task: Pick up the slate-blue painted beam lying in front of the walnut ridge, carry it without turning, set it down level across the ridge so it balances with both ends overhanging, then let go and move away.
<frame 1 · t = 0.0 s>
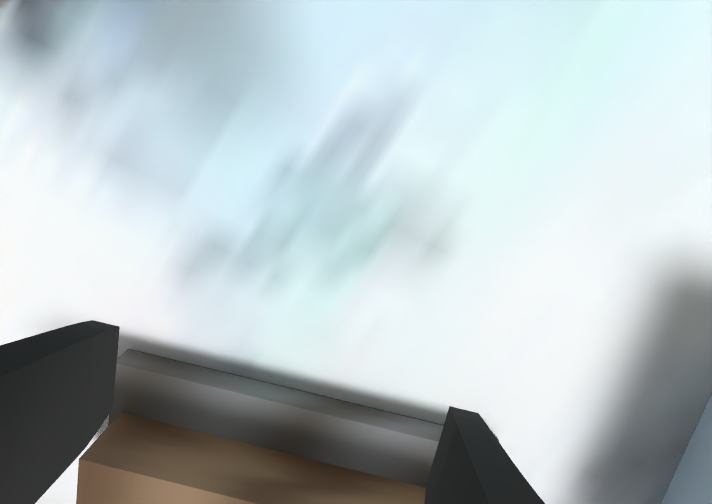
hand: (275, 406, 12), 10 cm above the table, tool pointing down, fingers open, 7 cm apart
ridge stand: (294, 470, 24), on the table
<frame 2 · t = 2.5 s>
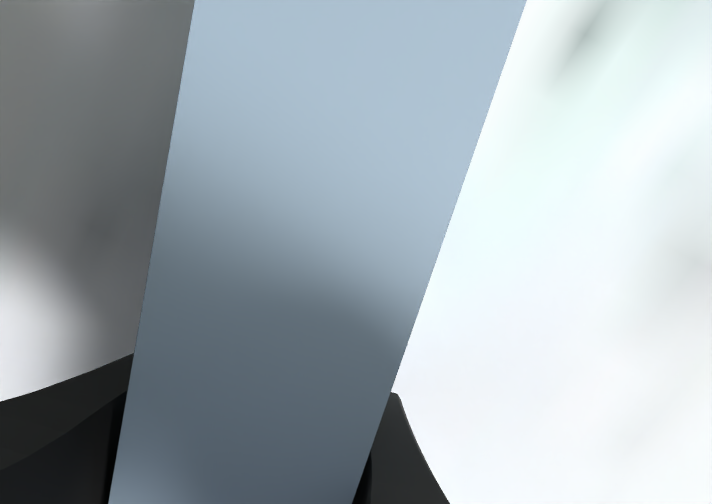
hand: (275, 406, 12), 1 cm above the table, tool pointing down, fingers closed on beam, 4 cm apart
beam: (290, 371, 13), on the table, touching gripper
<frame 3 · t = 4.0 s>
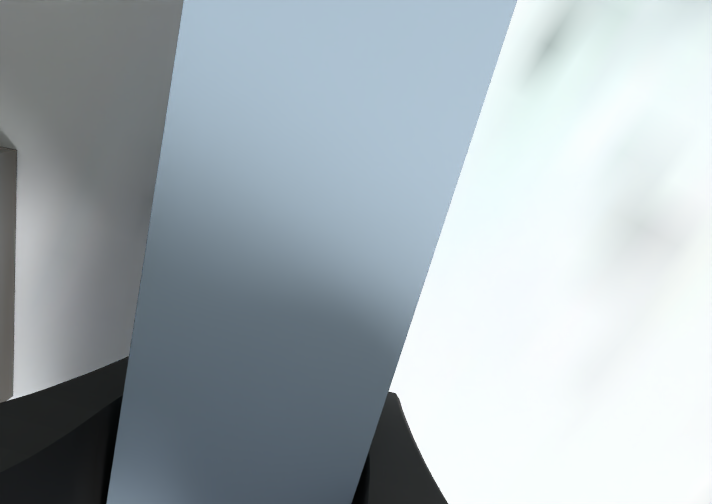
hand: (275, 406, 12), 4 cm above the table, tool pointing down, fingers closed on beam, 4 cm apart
beam: (289, 372, 13), point 3 cm above the table, touching gripper
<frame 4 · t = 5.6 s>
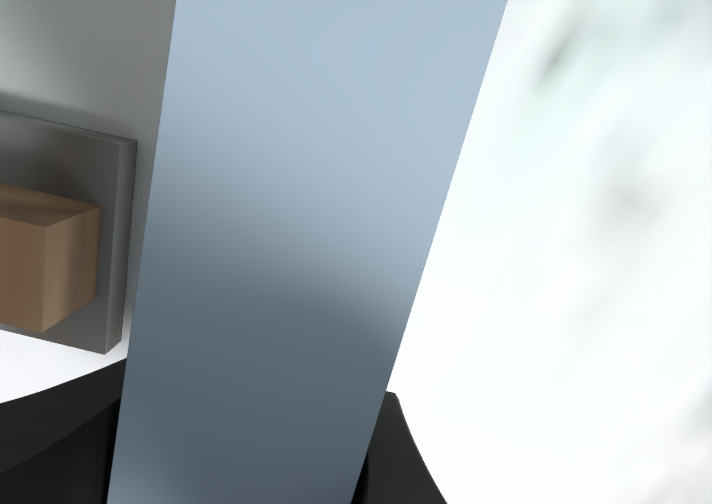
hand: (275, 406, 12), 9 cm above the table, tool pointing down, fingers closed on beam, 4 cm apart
beam: (290, 371, 13), point 7 cm above the table, touching gripper
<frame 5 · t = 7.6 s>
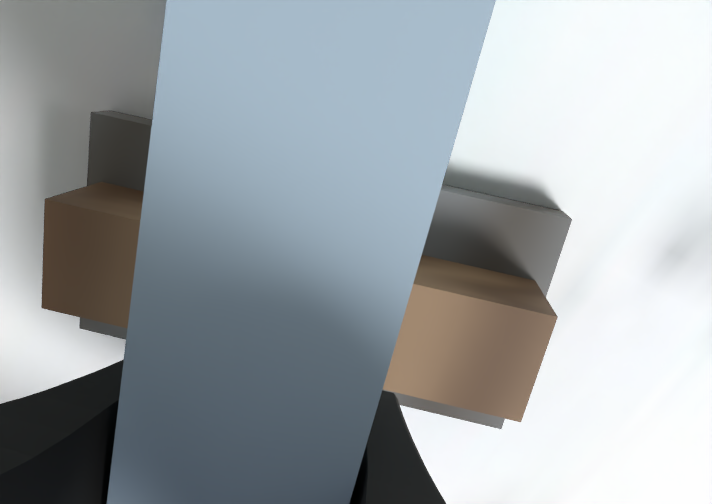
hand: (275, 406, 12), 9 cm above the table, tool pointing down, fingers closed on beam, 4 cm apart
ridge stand: (312, 267, 20), on the table
beam: (290, 369, 13), point 7 cm above the table, touching gripper
when the fingers open (7 cm above the table, at t = 9.0 s): beam stays where it is, resting on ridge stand.
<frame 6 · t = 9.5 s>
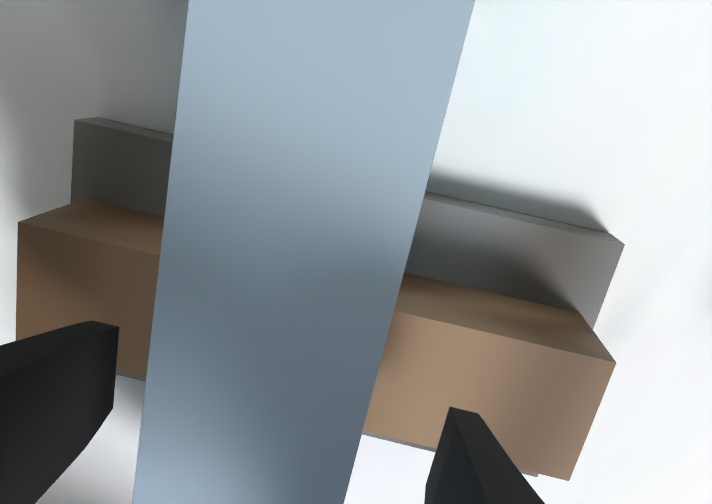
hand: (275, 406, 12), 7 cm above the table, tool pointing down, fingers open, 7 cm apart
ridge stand: (324, 293, 18), on the table
beam: (299, 350, 14), point 4 cm above the table, touching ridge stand
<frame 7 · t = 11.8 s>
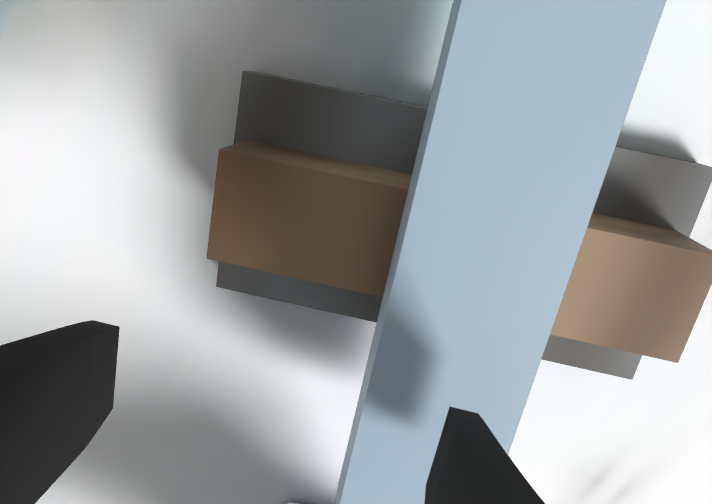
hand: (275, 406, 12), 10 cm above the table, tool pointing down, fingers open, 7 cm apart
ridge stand: (444, 224, 21), on the table
beam: (452, 254, 17), point 4 cm above the table, touching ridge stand
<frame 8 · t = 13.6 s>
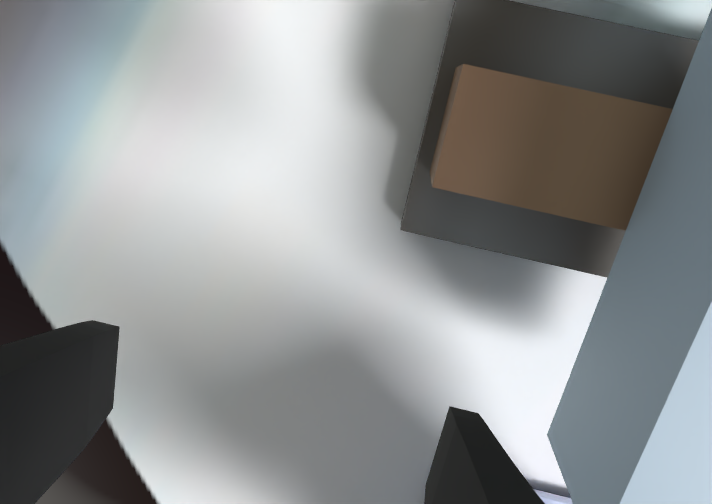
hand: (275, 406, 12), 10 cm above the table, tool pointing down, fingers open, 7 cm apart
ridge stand: (649, 165, 19), on the table
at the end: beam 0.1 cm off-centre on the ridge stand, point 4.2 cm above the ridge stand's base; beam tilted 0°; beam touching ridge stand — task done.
